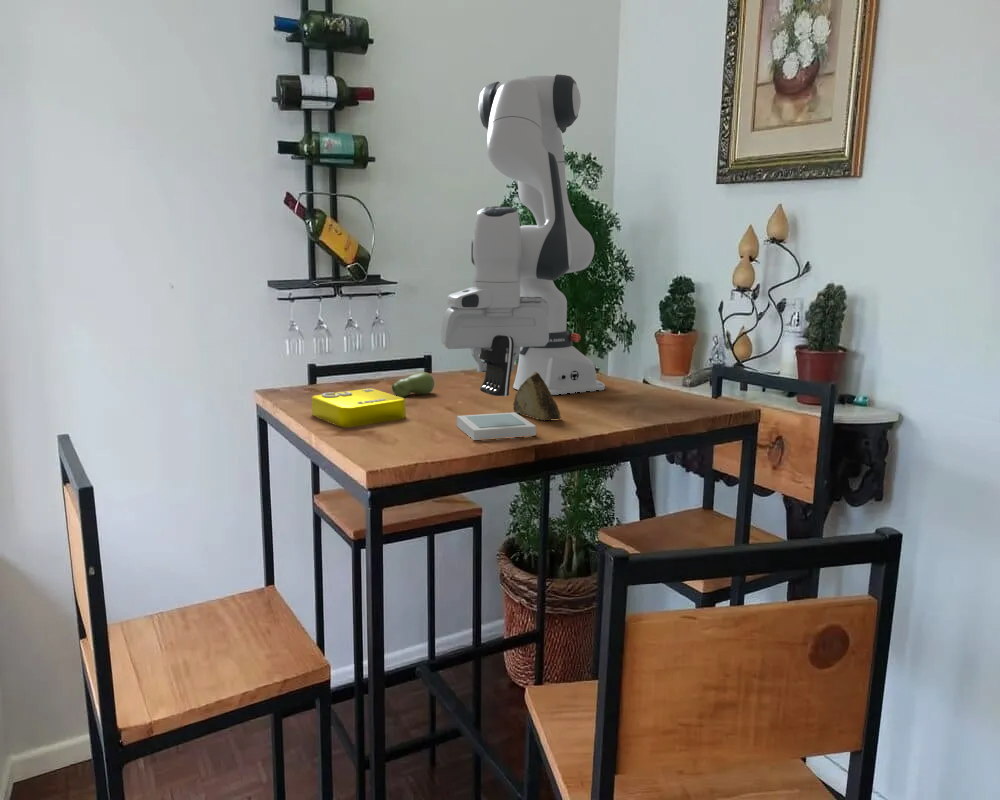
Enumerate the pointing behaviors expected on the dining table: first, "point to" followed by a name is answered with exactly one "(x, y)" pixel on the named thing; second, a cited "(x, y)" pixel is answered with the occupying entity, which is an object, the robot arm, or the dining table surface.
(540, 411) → the rock
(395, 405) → the element tile
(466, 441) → the dining table surface
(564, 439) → the dining table surface
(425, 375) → the pear
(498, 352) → the battery charger
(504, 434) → the plate
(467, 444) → the dining table surface
